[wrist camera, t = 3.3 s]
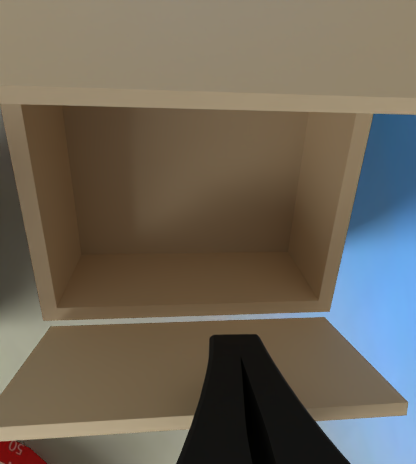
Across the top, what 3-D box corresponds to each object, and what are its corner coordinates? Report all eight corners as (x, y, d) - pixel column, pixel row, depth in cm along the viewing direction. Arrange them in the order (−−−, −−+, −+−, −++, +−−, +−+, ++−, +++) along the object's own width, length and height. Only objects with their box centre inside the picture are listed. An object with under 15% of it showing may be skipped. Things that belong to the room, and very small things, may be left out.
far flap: (324, 317, 15) (323, 325, 15) (50, 326, 14) (51, 335, 14) (408, 402, 10) (406, 415, 10) (-25, 428, 9) (-23, 442, 9)
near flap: (-21, -49, 9) (-29, -68, 9) (397, -21, 10) (405, -37, 10) (-101, 101, 6) (-118, 81, 6) (481, 116, 7) (496, 100, 7)
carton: (293, 255, 20) (329, 311, 16) (73, 259, 19) (43, 320, 14) (333, 5, 15) (402, -20, 10) (35, -12, 14) (-31, -49, 9)
